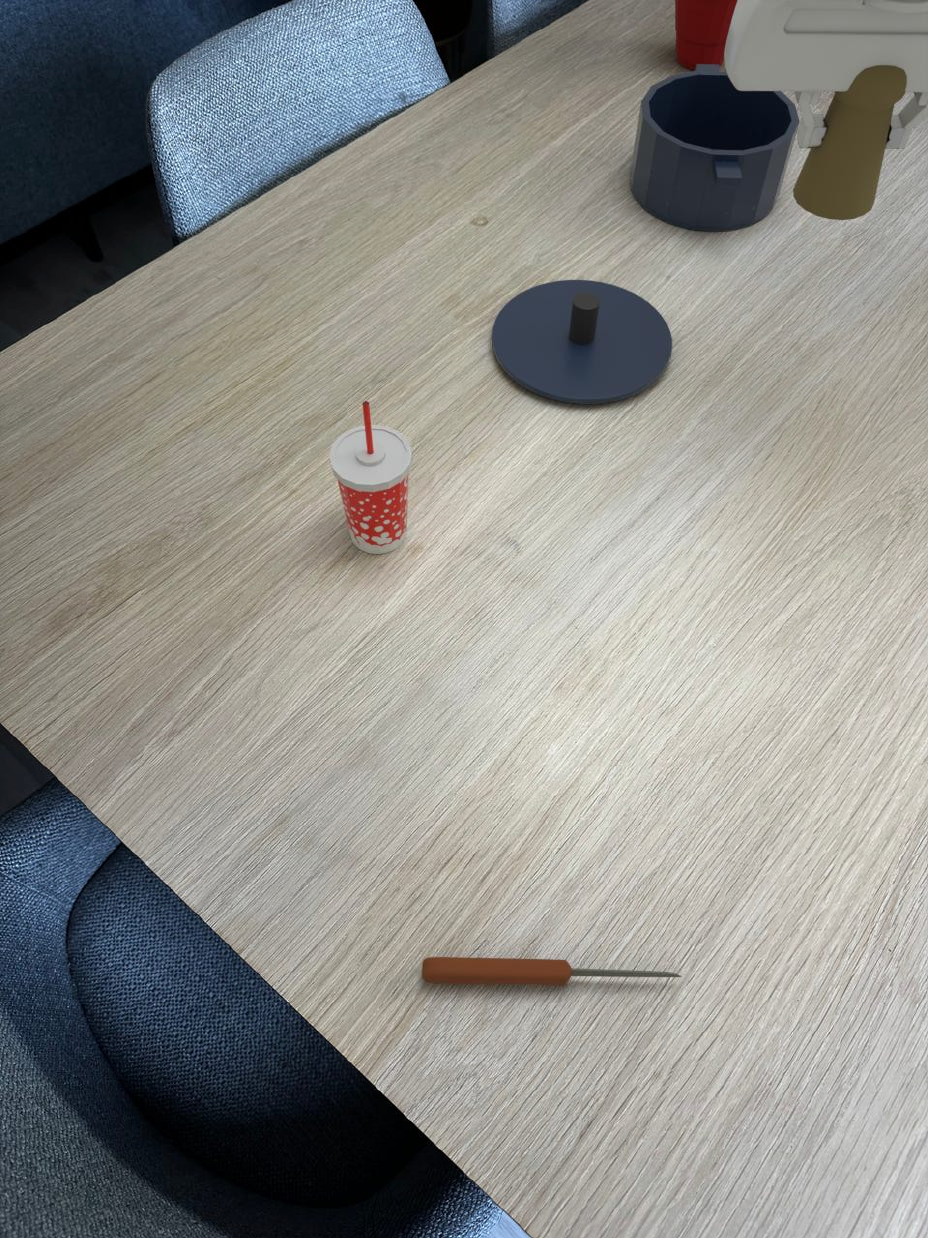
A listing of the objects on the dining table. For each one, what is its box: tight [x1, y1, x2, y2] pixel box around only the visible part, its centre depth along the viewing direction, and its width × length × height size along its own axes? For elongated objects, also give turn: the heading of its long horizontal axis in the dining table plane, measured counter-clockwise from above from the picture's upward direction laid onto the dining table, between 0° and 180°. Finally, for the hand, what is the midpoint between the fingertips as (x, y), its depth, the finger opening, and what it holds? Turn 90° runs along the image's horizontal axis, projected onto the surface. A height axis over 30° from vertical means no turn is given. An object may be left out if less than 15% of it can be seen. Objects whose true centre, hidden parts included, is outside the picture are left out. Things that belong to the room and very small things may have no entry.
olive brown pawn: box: [792, 65, 907, 221], centre depth 74 cm, size 6×6×11 cm
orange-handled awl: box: [421, 956, 683, 987], centre depth 63 cm, size 16×1×2 cm, turn 89°
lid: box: [491, 279, 673, 405], centre depth 94 cm, size 17×17×5 cm
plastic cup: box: [674, 0, 738, 71], centre depth 122 cm, size 11×11×12 cm
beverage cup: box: [328, 400, 413, 555], centre depth 78 cm, size 6×6×14 cm
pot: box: [629, 64, 801, 233], centre depth 108 cm, size 16×21×8 cm
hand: (849, 144), depth 75 cm, fingers closed on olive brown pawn, 4 cm apart
